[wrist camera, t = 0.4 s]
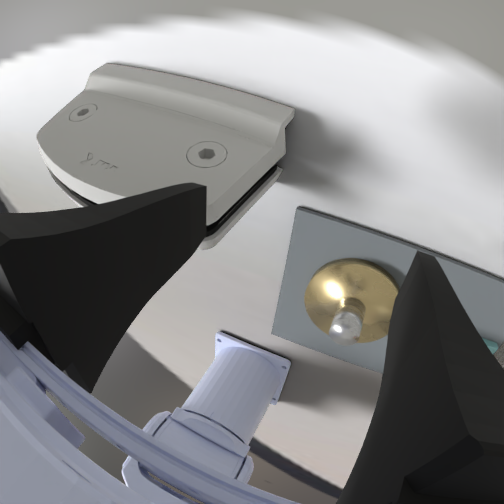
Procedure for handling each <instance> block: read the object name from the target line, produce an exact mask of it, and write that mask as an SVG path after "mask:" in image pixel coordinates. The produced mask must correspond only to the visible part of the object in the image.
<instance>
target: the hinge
mask: <svg viewBox="0 0 504 504" xmlns="http://www.w3.org/2000/svg"><path fill="white" fill-rule="evenodd" d="M294 114H295V109H294V108H291V107H288V106H285V105H282V104H279V103H276V102H273V101H270V100H267V99H264V98H261V97H258V96H254V95H251V94H248V93H244V92H241V91H238V90H234V89H230V88H227V87H223V86H219V85H216V84H212V83H208V82H204V81H200V80H196V79H191V78H187V77H182V76H178V75H173V74H168V73H163V72H158V71H153V70H148V69H142V68H136V67H130V66H123V65H116V64H109V63H106V64H104V65H103V66H101V67H99V68H98V69H96V70H95V71H93V72H92V73H91V74H90V75H89V78H88V81H87V84H86V87H85V89H84V90H83V91H82V92H81V93H80V94H79V95H78V96H76V97H75V98H74V99H73V100H72V101H71V102H69V103H68V104H67V105H66V106H65V107H64V108H63V109H61V110H60V111H59V112H58V113H57V114H56V115H55V116H54V117H53V118H52V119H51V120H49V121H48V122H47V123H46V124H45V125H44V126H43V127H42V128H41V129H40V130H39V132H38V133H37V142H38V146H39V150H40V153H41V156H42V158H43V160H44V161H45V163H46V166H47V168H48V170H49V172H50V174H51V175H52V177H53V179H54V180H55V182H56V183H57V184H58V185H59V187H60V188H61V189H62V190H63V191H64V192H65V193H66V194H67V195H68V196H69V197H70V198H71V199H72V200H73V201H74V202H75V203H76V204H77V205H78V206H79V207H86V206H91V205H97V204H101V203H106V202H110V201H114V200H118V199H122V198H126V197H130V196H134V195H138V194H142V193H145V192H149V191H153V190H157V189H160V188H164V187H168V186H173V185H177V184H182V183H190V182H193V183H197V184H201V185H205V186H207V210H206V237H205V238H204V240H203V241H202V243H201V244H200V245H199V247H198V248H197V250H206V249H210V248H212V247H214V246H215V245H216V244H217V243H218V242H219V241H220V240H221V239H222V238H223V237H224V236H225V235H226V234H227V233H228V232H229V230H230V229H231V228H232V227H233V226H234V225H235V224H236V223H237V222H238V221H239V220H240V219H241V218H242V217H243V216H244V215H245V213H246V212H247V211H248V210H249V209H250V208H251V207H252V206H253V205H254V204H255V203H256V202H257V201H258V200H259V199H260V198H261V197H262V196H263V195H264V194H265V192H266V191H267V190H268V189H269V188H270V187H271V186H272V185H273V184H274V183H275V182H276V181H277V179H278V177H279V176H280V174H281V172H282V170H283V169H281V168H279V167H277V165H276V164H275V163H276V162H277V161H278V160H279V159H281V158H282V157H283V156H284V155H285V154H286V144H285V127H286V126H287V125H288V124H289V122H290V121H291V120H292V119H293V118H294Z"/></svg>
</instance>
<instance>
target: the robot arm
mask: <svg viewBox="0 0 504 504" xmlns="http://www.w3.org/2000/svg"><path fill="white" fill-rule="evenodd" d="M206 210H207V186H205V185H201V184H197V183H193V182H190V183H182V184H177V185H173V186H168V187H164V188H160V189H157V190H153V191H149V192H145V193H142V194H138V195H134V196H130V197H126V198H122V199H118V200H114V201H110V202H106V203H101V204H97V205H91V206H86V207H80V208H73V209H66V210H58V211H50V212H36V213H0V504H200V503H197V502H194V501H192V500H190V499H188V498H186V497H184V496H183V495H181V494H179V493H177V492H175V491H174V490H172V489H170V488H168V487H167V486H165V485H163V484H162V483H160V482H158V481H157V480H155V479H154V478H152V477H151V476H150V475H149V473H148V472H150V473H151V474H153V475H155V476H156V477H158V478H160V479H161V480H163V481H165V482H166V483H168V484H170V485H171V486H173V487H175V488H177V489H178V490H180V491H182V492H184V493H186V494H187V495H189V496H191V497H193V498H195V499H197V500H199V501H201V502H203V503H205V504H300V503H297V502H294V501H291V500H288V499H285V498H282V497H279V496H276V495H274V494H271V493H268V492H265V491H263V490H260V489H258V488H255V487H252V486H250V485H248V484H247V483H248V481H249V479H250V477H251V474H252V472H253V469H254V464H253V461H252V457H250V456H248V455H247V452H248V451H249V449H250V446H248V444H249V442H250V440H251V439H252V437H253V435H254V433H255V431H256V429H257V427H258V425H259V424H260V422H261V420H262V418H263V416H264V414H265V412H266V410H267V408H268V406H269V404H273V405H276V404H277V402H278V399H279V397H280V394H281V391H282V388H283V385H284V383H285V380H286V377H287V374H288V371H289V368H290V365H291V362H290V361H289V360H288V359H285V358H283V357H280V356H278V355H275V354H273V353H270V352H268V351H265V350H263V349H260V348H258V347H255V346H253V345H251V344H248V343H246V342H243V341H241V340H239V339H236V338H234V337H232V336H229V335H227V334H225V333H222V332H217V333H216V335H215V360H214V361H213V362H212V364H211V365H210V367H209V368H208V370H207V371H206V373H205V374H204V376H203V377H202V379H201V380H200V381H199V383H198V384H197V386H196V387H195V389H194V390H193V392H192V393H191V395H190V396H189V397H188V399H187V400H186V402H185V403H184V405H183V406H182V407H181V409H180V408H179V407H177V408H176V409H175V410H174V412H173V413H170V412H168V411H165V412H162V413H158V414H156V415H155V416H154V417H153V418H152V419H151V420H150V421H149V422H148V423H147V424H146V426H145V427H144V428H143V430H141V429H140V428H138V427H136V426H135V425H134V424H132V423H130V422H129V421H127V420H126V419H124V418H123V417H121V416H120V415H118V414H117V413H115V412H114V411H113V410H111V409H110V408H108V407H107V406H106V405H104V404H103V403H101V402H100V401H99V400H97V399H96V398H95V397H93V396H92V395H91V394H90V393H92V391H93V388H94V386H95V384H96V382H97V380H98V378H99V376H100V374H101V372H102V370H103V368H104V367H105V365H106V363H107V361H108V360H109V358H110V356H111V354H112V353H113V351H114V349H115V348H116V346H117V344H118V343H119V341H120V340H121V338H122V337H123V335H124V334H125V332H126V331H127V329H128V328H129V326H130V325H131V323H132V322H133V321H134V319H135V318H136V317H137V315H138V314H139V313H140V311H141V310H142V308H143V307H144V306H145V305H146V303H147V302H148V301H149V300H150V299H151V298H152V296H153V295H154V294H155V293H156V292H157V291H158V290H159V289H160V288H161V287H162V286H163V285H164V284H165V283H166V282H167V281H168V280H169V279H170V278H171V277H172V276H173V275H174V274H175V273H176V272H177V271H178V270H179V269H180V268H181V267H182V266H183V264H184V263H185V262H186V261H187V260H188V259H189V258H190V257H191V256H192V255H193V253H194V252H195V251H196V250H197V248H198V247H199V245H200V244H201V243H202V241H203V240H204V238H205V237H206ZM45 389H46V390H47V391H48V392H49V393H50V394H51V395H52V396H53V397H54V398H56V399H57V400H58V401H59V402H60V403H61V404H62V405H63V406H64V407H66V408H67V409H68V410H69V411H70V412H72V413H73V414H74V415H75V416H76V417H78V418H79V419H80V420H81V421H82V422H84V423H85V424H86V425H88V426H89V427H90V428H91V429H93V430H94V431H95V432H97V433H98V434H99V435H101V436H102V437H103V438H105V439H106V440H107V441H109V442H110V443H112V444H113V445H114V446H116V447H117V448H119V449H120V450H122V451H123V452H124V453H126V454H128V455H129V456H128V457H127V459H126V460H125V462H124V463H123V469H122V475H123V478H124V481H125V483H126V485H125V484H123V483H122V482H120V481H118V480H117V479H116V478H114V477H113V476H111V475H110V474H109V473H107V472H106V471H105V470H103V469H102V468H101V467H99V466H98V465H97V464H95V463H94V462H93V461H92V460H90V459H89V458H88V457H87V456H85V455H84V454H83V453H82V452H80V451H79V450H78V448H79V446H80V445H81V444H82V443H83V441H84V440H85V436H84V435H83V434H82V433H81V432H80V431H79V430H78V429H77V428H76V427H75V426H74V425H73V424H72V423H70V421H69V420H68V419H67V418H66V417H65V416H64V415H63V414H62V412H61V411H60V410H59V409H58V407H57V406H56V405H55V404H54V403H53V402H52V401H51V400H50V399H49V398H48V397H47V396H46V390H45ZM147 471H148V472H147ZM336 504H504V369H503V368H502V367H501V365H500V364H499V363H498V361H497V360H496V358H495V357H494V355H493V354H492V353H491V351H490V350H489V348H488V347H487V345H486V343H485V342H484V340H483V339H482V337H481V336H480V334H479V333H478V331H477V330H476V328H475V326H474V325H473V323H472V321H471V319H470V318H469V316H468V314H467V313H466V311H465V309H464V307H463V306H462V304H461V302H460V300H459V298H458V297H457V295H456V293H455V291H454V289H453V287H452V286H451V284H450V282H449V280H448V278H447V276H446V275H445V273H444V271H443V269H442V267H441V266H440V264H439V262H438V261H437V259H436V258H435V256H432V255H429V254H426V253H423V252H421V251H418V250H417V252H416V255H415V257H414V259H413V262H412V264H411V266H410V268H409V271H408V273H407V275H406V277H405V279H404V282H403V284H402V286H401V288H400V290H399V292H398V294H397V296H396V298H395V301H394V306H393V310H392V315H391V319H390V324H389V331H388V339H387V347H386V355H385V363H384V370H383V377H382V383H381V388H380V393H379V397H378V401H377V404H376V408H375V411H374V414H373V417H372V420H371V423H370V426H369V429H368V432H367V435H366V438H365V440H364V443H363V446H362V448H361V451H360V453H359V456H358V458H357V460H356V463H355V465H354V467H353V470H352V472H351V474H350V476H349V479H348V481H347V483H346V485H345V487H344V489H343V491H342V493H341V495H340V497H339V499H338V501H337V503H336Z"/></svg>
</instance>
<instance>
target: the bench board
mask: <svg viewBox="0 0 504 504" xmlns="http://www.w3.org/2000/svg"><path fill="white" fill-rule="evenodd" d="M417 250H418V251H421V252H423V253H426V254H429V255H432V256H435V258H436V259H437V261H438V262H439V264H440V266H441V267H442V269H443V271H444V273H445V275H446V276H447V278H448V280H449V282H450V284H451V286H452V287H453V289H454V291H455V293H456V295H457V297H458V298H459V300H460V302H461V304H462V306H463V307H464V309H465V311H466V313H467V314H468V316H469V318H470V319H471V321H472V323H473V325H474V326H475V328H476V330H477V331H478V333H479V334H480V336H481V337H482V338H484V339H487V340H490V341H493V342H495V343H497V345H498V348H499V347H500V346H501V345H502V343H503V342H504V280H502V279H500V278H497V277H495V276H492V275H490V274H488V273H485V272H483V271H480V270H478V269H475V268H473V267H470V266H468V265H465V264H463V263H460V262H458V261H455V260H452V259H450V258H447V257H445V256H442V255H439V254H437V253H434V252H431V251H429V250H426V249H423V248H421V247H418V246H415V245H412V244H410V243H407V242H404V241H401V240H398V239H396V238H393V237H390V236H387V235H384V234H381V233H378V232H375V231H373V230H370V229H367V228H364V227H361V226H358V225H355V224H352V223H349V222H346V221H343V220H340V219H336V218H333V217H330V216H327V215H324V214H321V213H318V212H314V211H311V210H308V209H305V208H302V207H297V209H296V213H295V218H294V224H293V229H292V234H291V240H290V245H289V250H288V255H287V260H286V265H285V270H284V275H283V280H282V285H281V290H280V295H279V300H278V304H277V309H276V314H275V319H274V323H273V328H272V333H271V334H273V335H276V336H278V337H281V338H284V339H286V340H289V341H291V342H294V343H297V344H299V345H302V346H305V347H307V348H310V349H313V350H315V351H318V352H321V353H324V354H326V355H329V356H332V357H335V358H338V359H341V360H343V361H346V362H349V363H352V364H355V365H358V366H361V367H364V368H367V369H370V370H373V371H376V372H379V373H382V374H383V370H384V363H385V355H386V347H387V339H388V335H386V336H385V337H383V338H381V339H379V340H376V341H372V342H367V343H355V344H353V345H350V346H343V345H339V344H337V343H335V342H334V341H333V340H332V339H331V338H330V336H329V335H327V334H326V333H324V332H323V331H322V330H320V329H319V328H318V327H317V326H316V325H315V324H314V323H313V322H312V320H311V319H310V317H309V316H308V314H307V311H306V308H305V303H304V296H305V291H306V288H307V286H308V284H309V282H310V280H311V278H312V276H313V275H314V273H315V272H316V271H317V270H318V269H319V268H320V267H321V266H323V265H325V264H326V263H328V262H331V261H334V260H337V259H342V258H357V259H363V260H367V261H370V262H373V263H375V264H377V265H379V266H381V267H382V268H384V269H385V270H386V271H388V272H389V273H390V274H391V275H392V276H393V278H394V279H395V280H396V282H397V283H398V285H399V288H401V286H402V284H403V282H404V279H405V277H406V275H407V273H408V271H409V268H410V266H411V264H412V262H413V259H414V257H415V255H416V252H417Z"/></svg>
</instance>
